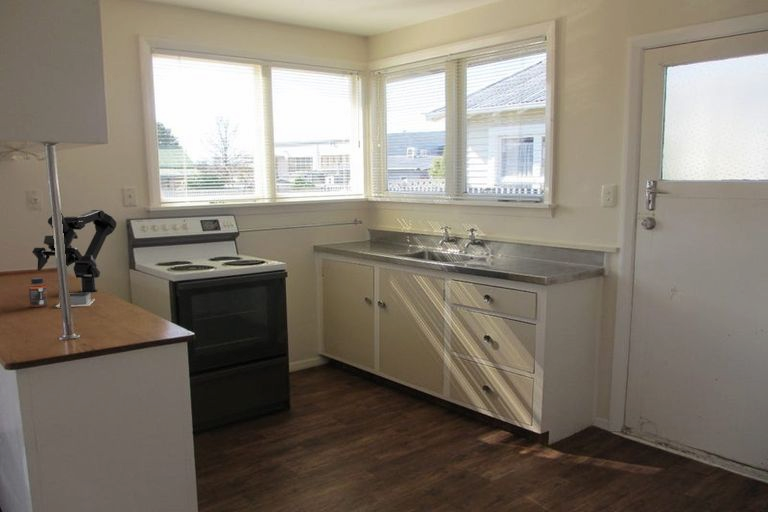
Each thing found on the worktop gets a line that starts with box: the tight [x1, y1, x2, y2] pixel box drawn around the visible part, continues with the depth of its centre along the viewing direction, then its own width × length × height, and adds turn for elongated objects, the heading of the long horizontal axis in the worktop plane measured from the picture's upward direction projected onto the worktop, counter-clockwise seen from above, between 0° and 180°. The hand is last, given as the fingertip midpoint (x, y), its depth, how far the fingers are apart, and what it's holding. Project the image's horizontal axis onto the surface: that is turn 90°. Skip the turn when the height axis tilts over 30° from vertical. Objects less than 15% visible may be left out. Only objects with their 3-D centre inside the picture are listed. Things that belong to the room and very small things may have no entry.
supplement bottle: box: [28, 277, 48, 308], centre depth 243 cm, size 6×6×11 cm
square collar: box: [55, 292, 95, 308], centre depth 248 cm, size 12×12×4 cm
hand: (48, 270), depth 250 cm, fingers open, 9 cm apart
